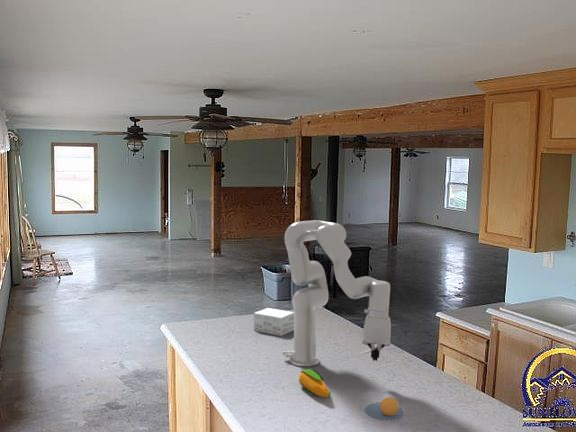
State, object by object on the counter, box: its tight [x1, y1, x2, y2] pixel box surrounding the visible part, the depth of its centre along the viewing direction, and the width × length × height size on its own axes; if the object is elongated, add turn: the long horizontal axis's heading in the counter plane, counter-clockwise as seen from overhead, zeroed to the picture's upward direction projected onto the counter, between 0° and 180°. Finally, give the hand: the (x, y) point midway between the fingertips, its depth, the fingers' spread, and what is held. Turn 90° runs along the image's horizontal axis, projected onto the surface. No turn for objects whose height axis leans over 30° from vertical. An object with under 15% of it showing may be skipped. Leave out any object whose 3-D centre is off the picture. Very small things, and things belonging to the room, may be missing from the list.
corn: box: [298, 368, 332, 398], centre depth 200 cm, size 7×8×20 cm
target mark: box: [364, 402, 404, 421], centre depth 187 cm, size 13×13×1 cm
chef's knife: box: [358, 347, 376, 355], centre depth 248 cm, size 19×1×3 cm
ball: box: [380, 396, 400, 416], centre depth 184 cm, size 6×6×6 cm
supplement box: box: [253, 307, 294, 337], centre depth 277 cm, size 17×13×9 cm
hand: (374, 359), depth 210 cm, fingers closed
